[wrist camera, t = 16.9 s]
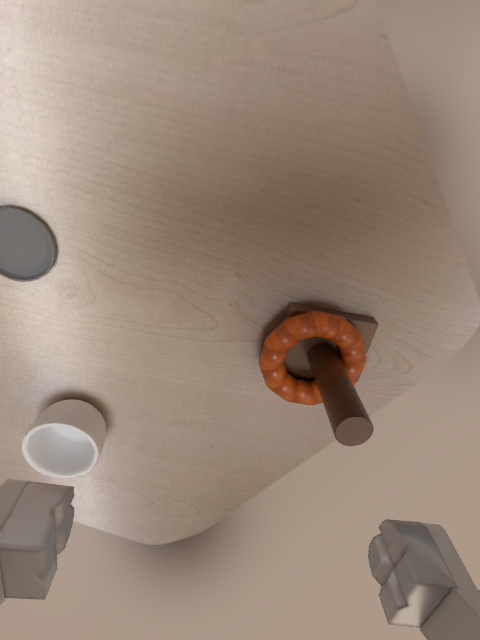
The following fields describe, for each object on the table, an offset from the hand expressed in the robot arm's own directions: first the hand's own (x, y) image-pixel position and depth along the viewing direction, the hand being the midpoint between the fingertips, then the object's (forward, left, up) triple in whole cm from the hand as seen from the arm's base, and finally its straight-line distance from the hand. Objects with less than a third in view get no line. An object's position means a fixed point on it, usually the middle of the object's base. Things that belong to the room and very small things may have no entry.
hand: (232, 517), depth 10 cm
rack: (-12, +10, -28) cm, 32 cm away
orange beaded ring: (-10, +10, -25) cm, 29 cm away
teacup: (+13, +25, -28) cm, 40 cm away
